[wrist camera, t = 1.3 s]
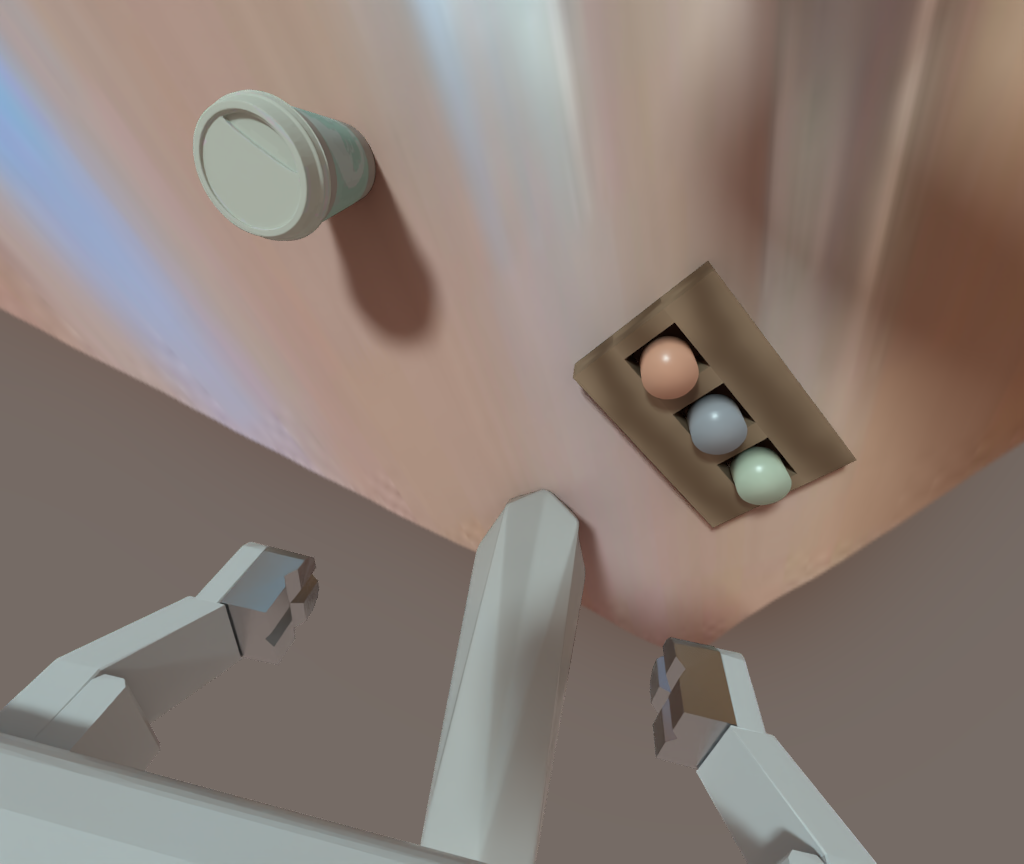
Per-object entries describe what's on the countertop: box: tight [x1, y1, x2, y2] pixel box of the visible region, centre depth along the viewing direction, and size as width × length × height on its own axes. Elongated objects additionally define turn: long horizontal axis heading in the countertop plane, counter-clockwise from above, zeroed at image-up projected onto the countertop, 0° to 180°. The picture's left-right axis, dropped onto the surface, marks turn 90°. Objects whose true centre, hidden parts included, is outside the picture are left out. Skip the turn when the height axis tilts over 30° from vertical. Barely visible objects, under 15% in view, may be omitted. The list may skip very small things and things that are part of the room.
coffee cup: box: [193, 90, 375, 241], centre depth 34 cm, size 9×8×12 cm
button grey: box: [687, 394, 747, 455], centre depth 41 cm, size 4×4×3 cm
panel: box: [573, 261, 856, 527], centre depth 43 cm, size 14×22×3 cm, turn 44°
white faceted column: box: [421, 490, 585, 864], centre depth 42 cm, size 12×12×33 cm
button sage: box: [730, 447, 791, 505], centre depth 43 cm, size 4×4×3 cm
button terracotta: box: [640, 336, 699, 399], centre depth 39 cm, size 4×4×3 cm
